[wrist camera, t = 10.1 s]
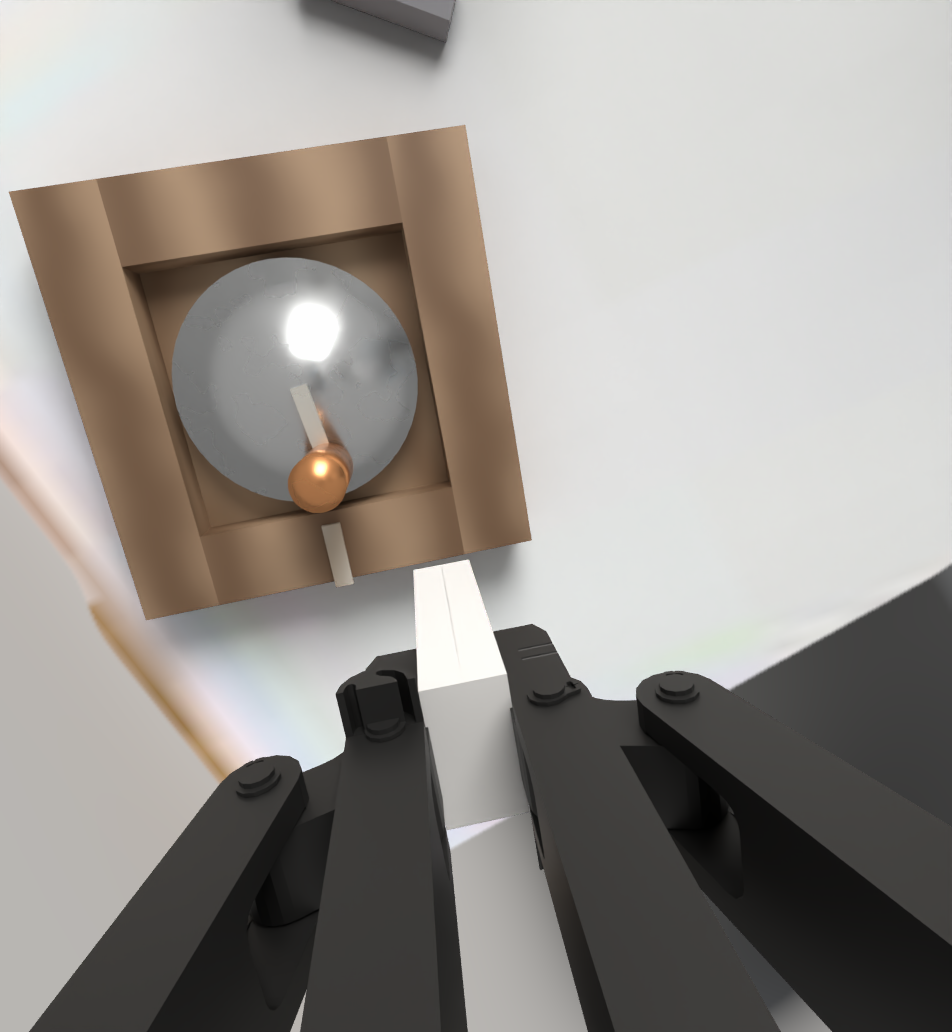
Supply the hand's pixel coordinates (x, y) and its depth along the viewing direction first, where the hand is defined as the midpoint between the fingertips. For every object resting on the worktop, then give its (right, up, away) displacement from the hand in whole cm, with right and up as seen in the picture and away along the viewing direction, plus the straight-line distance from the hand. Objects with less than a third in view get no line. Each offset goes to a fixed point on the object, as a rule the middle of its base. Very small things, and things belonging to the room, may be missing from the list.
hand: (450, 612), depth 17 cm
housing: (-9, +10, +21) cm, 25 cm away
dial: (-9, +10, +18) cm, 23 cm away
